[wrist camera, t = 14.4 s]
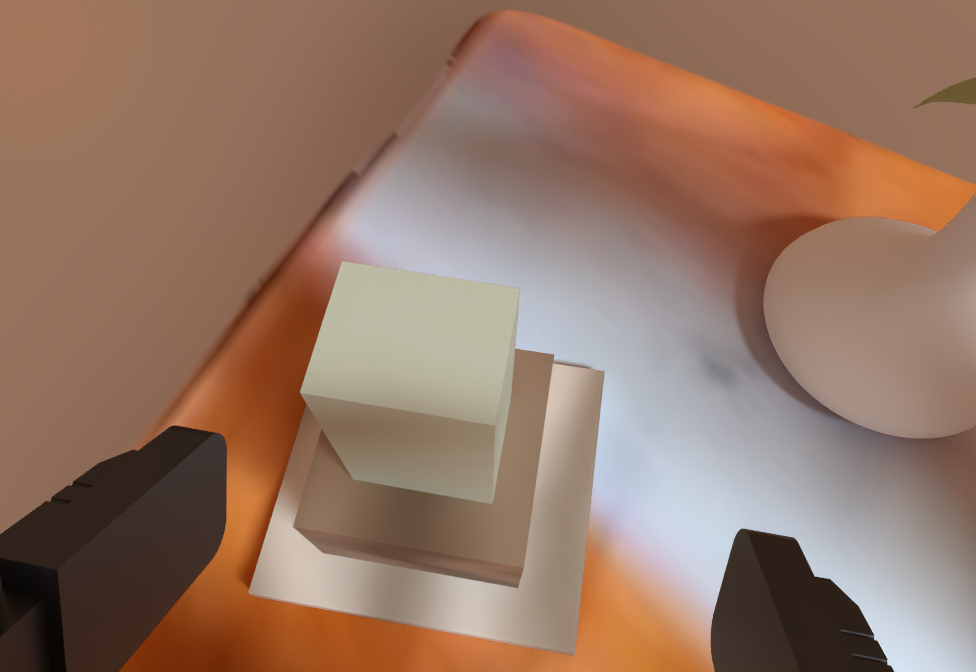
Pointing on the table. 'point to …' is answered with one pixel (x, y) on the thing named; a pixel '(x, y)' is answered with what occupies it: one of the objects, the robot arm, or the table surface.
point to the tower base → (451, 597)
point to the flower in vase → (883, 317)
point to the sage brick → (415, 379)
